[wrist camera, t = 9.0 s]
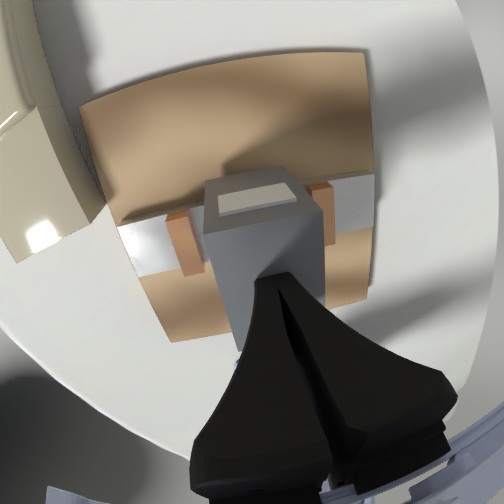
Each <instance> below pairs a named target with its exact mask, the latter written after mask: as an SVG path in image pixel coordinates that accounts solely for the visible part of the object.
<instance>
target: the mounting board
mask: <svg viewBox="0 0 504 504" xmlns="http://www.w3.org/2000/svg"><path fill="white" fill-rule="evenodd" d="M78 108H79V112H80V116H81V120H82V124H83V128H84V131H85V135H86V139H87V142H88V146H89V149H90V153H91V156H92V159H93V162H94V166H95V169H96V172H97V175H98V178H99V181H100V184H101V187H102V190H103V192H104V195H105V198H106V201H107V204H108V206H109V209H110V212H111V214H112V217H113V220H114V222H115V225H116V227H118V225H119V223H120V222H121V220H123V219H127V218H130V217H134V216H138V215H141V214H145V213H149V212H153V211H157V210H160V209H164V208H168V207H172V206H176V205H180V204H184V203H189V202H193V201H197V200H201V199H204V197H205V181H206V180H210V179H215V178H219V177H224V176H229V175H234V174H238V173H243V172H249V171H254V170H259V169H264V168H270V167H276V166H283V167H284V168H285V169H286V170H287V171H288V172H289V173H290V174H291V176H292V177H293V178H294V179H295V180H300V179H306V178H312V177H318V176H324V175H330V174H337V173H343V172H350V171H357V170H365V169H367V170H369V171H370V172H372V173H373V140H372V123H371V110H370V98H369V89H368V80H367V72H366V65H365V58H364V53H354V52H311V53H292V54H279V55H269V56H260V57H252V58H245V59H238V60H232V61H226V62H221V63H215V64H210V65H206V66H201V67H196V68H192V69H188V70H184V71H180V72H176V73H172V74H168V75H165V76H161V77H158V78H155V79H151V80H148V81H145V82H142V83H139V84H136V85H133V86H130V87H127V88H124V89H121V90H119V91H116V92H113V93H111V94H108V95H106V96H103V97H101V98H98V99H96V100H93V101H91V102H89V103H86V104H84V105H82V106H80V107H78ZM372 229H373V227H369V228H364V229H359V230H355V231H350V232H346V233H341V234H336V235H335V242H336V244H334V245H329V246H325V308H326V309H328V310H329V309H333V308H337V307H340V306H344V305H348V304H351V303H355V302H358V301H362V300H365V299H367V291H368V282H369V272H370V260H371V246H372ZM117 230H118V229H117ZM118 232H119V231H118ZM119 235H120V234H119ZM120 237H121V236H120ZM121 240H122V239H121ZM122 242H123V241H122ZM123 244H124V243H123ZM124 247H125V246H124ZM125 249H126V248H125ZM126 252H127V250H126ZM127 254H128V253H127ZM128 256H129V255H128ZM129 258H130V257H129ZM130 261H131V260H130ZM131 263H132V262H131ZM132 265H133V264H132ZM133 268H134V267H133ZM134 270H135V269H134ZM135 272H136V271H135ZM136 274H137V273H136ZM137 276H138V275H137ZM138 278H139V281H140V283H141V285H142V287H143V289H144V291H145V293H146V295H147V297H148V299H149V301H150V304H151V306H152V308H153V309H154V311H155V313H156V315H157V317H158V319H159V321H160V323H161V325H162V327H163V329H164V331H165V333H166V334H167V336H168V338H169V340H170V342H171V343H173V342H179V341H185V340H191V339H197V338H203V337H208V336H214V335H219V334H224V333H230V332H232V330H231V327H230V324H229V321H228V318H227V314H226V311H225V308H224V305H223V301H222V298H221V295H220V292H219V288H218V285H217V282H216V278H215V275H214V272H213V268H212V265H211V262H206V263H205V273H201V274H196V275H191V276H186V277H184V275H183V272H182V269H181V268H179V269H174V270H169V271H165V272H160V273H155V274H151V275H146V276H141V277H138Z"/></svg>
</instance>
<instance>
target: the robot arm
mask: <svg viewBox="0 0 504 504" xmlns="http://www.w3.org/2000/svg"><path fill="white" fill-rule="evenodd" d="M234 370H235V371H234V373H233V376H232V378H231V380H230V382H229V385H228V387H227V389H226V391H225V392H224V394H223V396H222V398H221V400H220V401H219V403H218V405H217V407H216V409H215V410H214V412H213V414H212V415H211V417H210V418H209V420H208V421H207V423H206V424H205V426H204V427H203V429H202V430H201V431H200V433H199V434H198V436H197V437H196V439H195V440H194V443H193V448H192V452H191V458H190V467H189V471H190V487H191V490H192V491H193V492H195V493H196V494H199V495H201V496H203V497H205V498H208V499H209V504H375V499H374V496H375V495H377V494H380V493H382V492H385V491H387V490H390V489H392V488H394V487H396V486H399V485H401V484H403V483H405V482H407V481H409V480H411V479H413V478H415V477H417V476H419V475H421V474H423V473H425V472H427V471H429V470H431V469H432V468H434V467H436V466H438V465H440V464H441V463H443V462H444V461H446V460H448V459H449V461H448V463H447V467H445V468H443V469H442V470H440V471H438V472H437V473H435V474H433V475H431V476H430V477H428V478H426V479H425V480H423V481H421V482H419V483H418V484H416V485H414V486H412V487H410V488H409V492H410V495H411V499H410V500H408V501H405V502H403V503H401V504H486V503H487V502H488V501H489V500H490V499H491V498H493V496H495V495H496V494H497V493H498V492H499V491H500V490H501V489H502V488H503V487H504V401H503V402H502V403H501V404H499V405H498V406H497V407H496V408H494V409H493V410H492V411H490V412H489V413H488V414H486V415H485V416H484V417H482V418H481V419H479V420H478V421H477V422H475V423H474V424H472V425H471V426H469V427H468V428H466V429H465V430H463V431H462V432H460V433H458V434H457V435H456V436H454V437H452V438H450V439H449V440H447V439H446V438H445V435H444V433H443V431H445V430H446V427H445V425H444V423H443V421H442V419H443V418H444V417H445V416H446V415H447V414H448V412H449V411H450V410H451V409H452V408H453V406H454V405H455V403H456V401H457V397H458V395H457V394H456V392H455V390H454V388H453V387H452V385H451V383H450V382H449V380H448V379H447V378H446V377H445V375H444V374H443V373H442V371H439V370H436V369H433V368H430V367H427V366H424V365H421V364H418V363H415V362H413V361H410V360H408V359H406V358H404V357H401V356H399V355H397V354H395V353H393V352H391V351H389V350H387V349H385V348H383V347H381V346H380V345H378V344H376V343H374V342H372V341H371V340H369V339H367V338H366V337H364V336H362V335H361V334H359V333H358V332H356V331H355V330H353V329H352V328H351V327H349V326H348V325H346V324H345V323H344V322H342V321H341V320H340V319H339V318H337V317H336V316H335V315H334V314H332V313H331V312H330V311H329V310H328V309H326V308H325V307H324V306H323V305H322V304H321V303H320V302H319V301H318V300H316V299H315V298H314V297H313V296H312V295H311V294H310V293H309V292H308V291H307V290H306V289H305V288H304V287H303V286H302V285H301V283H300V282H299V281H298V280H297V279H296V278H295V277H294V275H293V274H292V273H290V272H285V273H280V274H276V275H272V276H267V277H262V278H258V279H256V280H255V281H254V304H253V310H252V316H251V321H250V326H249V330H248V333H247V337H246V341H245V344H244V347H243V350H242V353H241V356H240V359H239V361H238V362H237V363H235V364H234ZM46 504H109V503H103V502H98V501H93V500H89V499H87V498H85V497H83V496H80V495H77V494H74V493H71V492H68V491H64V490H61V489H57V488H54V487H50V486H49V487H47V496H46Z"/></svg>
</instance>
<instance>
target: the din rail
mask: <svg viewBox="0 0 504 504" xmlns="http://www.w3.org/2000/svg"><path fill="white" fill-rule="evenodd" d="M296 181H297V182H298V183H299V184H300V185H301V186H302V187H303V189H304V190H305V191H306V192H307V193H308V194H309V195H310V196H311V197H312V198H313V200H314V201H315V202H316V203H317V204H318V205H319V206H320V207H321V209H322V210H323V221H324V245H325V246H329V245H334V244H336V242H335V235H336V234H341V233H346V232H350V231H355V230H359V229H364V228H369V227H373V226H374V199H375V174H374V173H372V172H370V171H369V170H367V169H365V170H357V171H350V172H343V173H337V174H330V175H324V176H318V177H312V178H306V179H300V180H296ZM203 220H204V199H201V200H197V201H193V202H189V203H184V204H180V205H176V206H172V207H168V208H164V209H160V210H157V211H153V212H149V213H145V214H141V215H138V216H134V217H130V218H127V219H123V220H121V222H120V223H119V225H118V227H117V229H118V231H119V234H120V236H121V239H122V241H123V243H124V246H125V248H126V250H127V253H128V255H129V257H130V260H131V262H132V264H133V267H134V269H135V271H136V273H137V275H138V277H141V276H146V275H151V274H155V273H160V272H165V271H169V270H174V269H179V268H181V269H182V272H183V275H184V277H186V276H191V275H196V274H201V273H205V263H206V262H211V261H210V258H209V254H208V251H207V248H206V244H205V240H204V237H203Z"/></svg>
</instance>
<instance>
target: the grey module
mask: <svg viewBox="0 0 504 504" xmlns="http://www.w3.org/2000/svg"><path fill="white" fill-rule="evenodd" d="M203 237H204V240H205V244H206V248H207V251H208V254H209V258H210V261H211V265H212V268H213V272H214V275H215V278H216V282H217V285H218V288H219V292H220V295H221V298H222V301H223V305H224V308H225V311H226V314H227V318H228V321H229V324H230V327H231V330H232V333H233V336H234V339H235V342H236V346H237V349H238V352H239V351H242V350H243V347H244V344H245V341H246V337H247V333H248V330H249V326H250V321H251V316H252V310H253V304H254V281H255V280H256V279H258V278H262V277H267V276H272V275H276V274H280V273H285V272H290V273H292V274H293V275H294V277H295V278H296V279H297V280H298V281H299V282H300V283H301V285H302V286H303V287H304V288H305V289H306V290H307V291H308V292H309V293H310V294H311V295H312V296H313V297H314V298H315V299H316V300H318V301H319V302H320V303H321V304H322V305H323V306H324V307H325V245H324V221H323V210H322V209H321V207H320V206H319V205H318V204H317V203H316V202H315V201H314V200H313V198H312V197H311V196H310V195H309V194H308V193H307V192H306V191H305V190H304V189H303V187H302V186H301V185H300V184H299V183H298V182H297V181H296V180H295V179H294V178H293V177H292V176H291V174H290V173H289V172H288V171H287V170H286V169H285V168H284V167H283V166H276V167H270V168H264V169H259V170H254V171H249V172H243V173H238V174H234V175H229V176H224V177H219V178H215V179H210V180H206V181H205V197H204V220H203Z"/></svg>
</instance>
